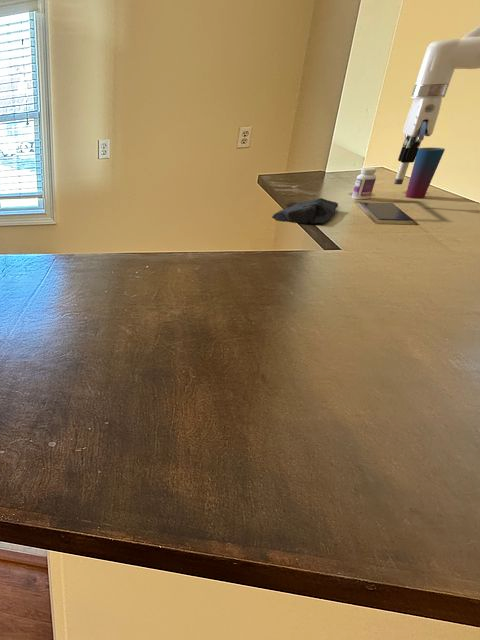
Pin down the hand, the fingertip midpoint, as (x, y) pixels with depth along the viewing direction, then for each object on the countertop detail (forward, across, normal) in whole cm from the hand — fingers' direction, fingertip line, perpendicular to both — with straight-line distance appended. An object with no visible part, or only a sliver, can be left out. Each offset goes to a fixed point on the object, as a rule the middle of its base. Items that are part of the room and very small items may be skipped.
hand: (405, 161), depth 144 cm
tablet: (+14, -7, 0) cm, 16 cm away
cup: (+14, +19, -11) cm, 26 cm away
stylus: (+7, 0, 0) cm, 7 cm away
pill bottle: (+14, +16, +5) cm, 22 cm away
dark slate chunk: (+15, -11, +24) cm, 30 cm away
